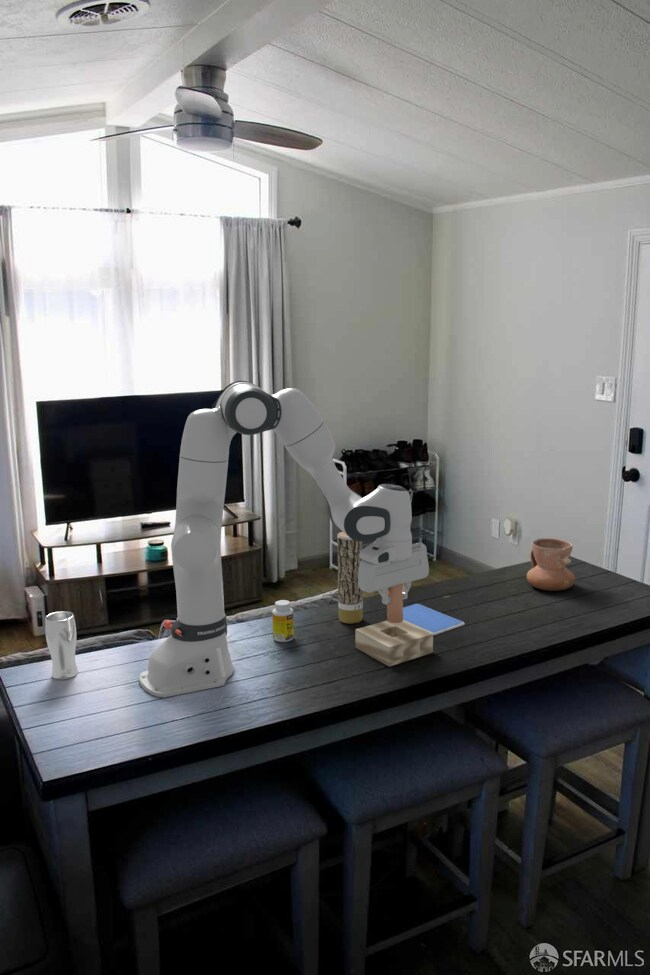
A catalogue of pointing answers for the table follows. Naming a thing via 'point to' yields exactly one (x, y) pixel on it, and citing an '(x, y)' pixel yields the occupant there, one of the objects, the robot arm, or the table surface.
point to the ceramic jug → (550, 565)
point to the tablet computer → (430, 619)
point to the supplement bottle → (283, 621)
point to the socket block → (394, 641)
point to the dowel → (395, 604)
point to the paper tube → (349, 580)
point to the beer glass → (61, 644)
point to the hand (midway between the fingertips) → (394, 601)
